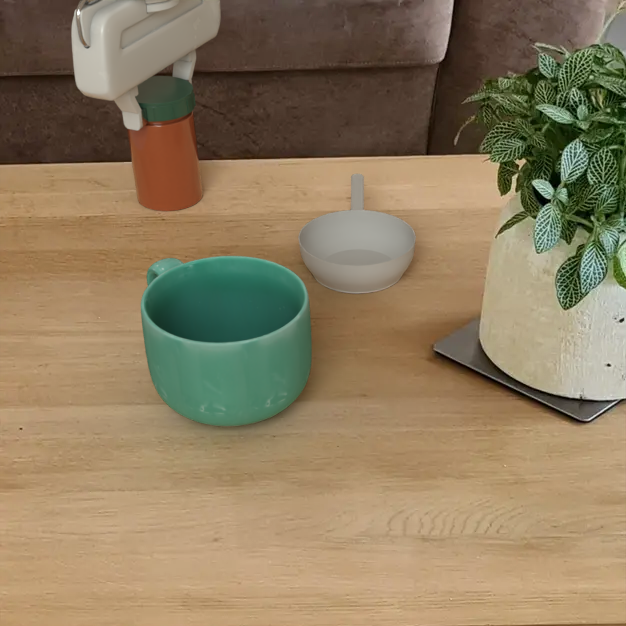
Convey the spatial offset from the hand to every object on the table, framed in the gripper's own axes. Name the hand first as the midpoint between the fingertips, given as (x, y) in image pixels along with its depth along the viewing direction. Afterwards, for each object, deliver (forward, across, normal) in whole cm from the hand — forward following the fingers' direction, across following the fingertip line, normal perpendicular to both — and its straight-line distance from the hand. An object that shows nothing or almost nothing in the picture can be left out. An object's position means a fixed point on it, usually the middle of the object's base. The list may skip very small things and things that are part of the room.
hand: (160, 111), depth 114 cm
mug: (+9, -28, -22) cm, 36 cm away
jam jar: (+9, 0, 0) cm, 9 cm away
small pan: (+9, -3, -22) cm, 24 cm away
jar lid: (-2, 0, 0) cm, 2 cm away
